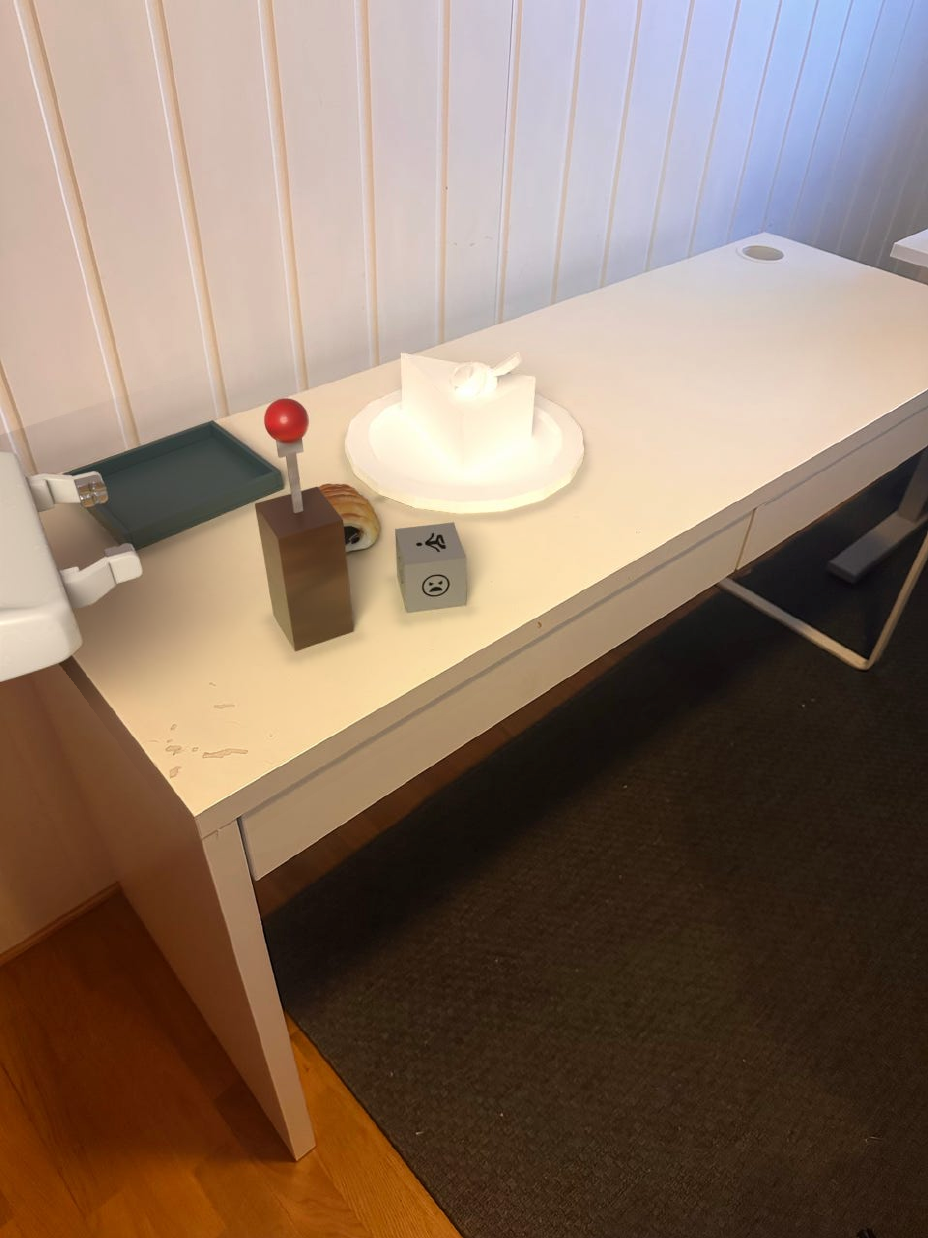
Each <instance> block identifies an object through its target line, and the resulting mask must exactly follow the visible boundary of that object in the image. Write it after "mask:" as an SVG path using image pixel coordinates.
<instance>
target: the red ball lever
mask: <svg viewBox="0 0 928 1238" xmlns="http://www.w3.org/2000/svg"><path fill="white" fill-rule="evenodd" d="M263 423H264V428H265V430H266V432H267V434H268V435H269V436H270V438H272V439H273V440H275V443H276V444H275V445H276V451H277V457H278V458H279V459H281V458H285V460H286V469H287V473H288V474H287V476H288V482H289V490H290V493H287V494H285V495H280V496H277V497H273V498H270V499H266V500H262V501H259V502H256V503H254V509H255V514H256V520H257V526H258V532H259V538H260V544H261V550H262V556H263V563H264V567H265V573H266V579H267V585H268V591H269V599H270V602H271V609H272V614H273V617H274V618H275V620H276V622H277V623H278V625H279V628H280V629H281V630H282V633H283V634H284V635H285V637H286V639H287V641H288V642H289V644H290V645H291V647H292V649H293V650H294V652H298V651H301V650H304V649H308V648H310V647H313V646H315V645H318V644H321V643H325V642H327V641H330V640H333V639H335V638H340V637H342V636H345V635H348V634H350V633H353V632H354V624H353V613H352V601H351V592H350V591H351V589H350V581H349V578H350V577H349V569H348V568H349V567H348V558H347V552H346V546H345V535H344V524H343V519H342V518H341V516H340V515H339V514H338V512H337V511H336V510H335V509H334V507H333V506H332V505H331V503H330V502H329V501H328V500H327V498H326V497H325V496H324V494H323V493H322V492H321V491H320V489H319V488H318V487H319V486H313V487H310V488H307V489H303V490H302V487H301V480H300V473H299V463H298V457H297V455H298V454H301V453H304V451H305V450H304V444H303V437H305V435H306V434H307V432H308V430H309V427H310V418H309V414H308V411H307V410H306V408H305V406H304V405H303V404H301V403H300V402H299V401H298V400H295V399H293V398H288V397H284V398H278V399H276V400H274V401H273V402H271V403H270V404H269V405H268V407H267V408H266V410H265V412H264V416H263Z"/></svg>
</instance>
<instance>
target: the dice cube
mask: <svg viewBox="0 0 928 1238" xmlns="http://www.w3.org/2000/svg"><path fill="white" fill-rule="evenodd" d="M394 534H395V556H396V557H395V558H396V559H395V560H396V577H397V581H398V584H399V589H400V593H401V596H402V600H403V604H404V608H405V612H406V614H409V613H417V612H425V611H433V610H439V609H447V608H455V607H456V608H457V607H462V606H466V604H467V603H466V602H467V598H466V597H467V555H466V552H465V549H464V547H463V544H462V541H461V539H460V535H459V533H458V530H457V527H456V524H455V522H446V523H437V524H427V525H418V526H410V527H409V526H408V527H401V528H400V527H399V528H394Z"/></svg>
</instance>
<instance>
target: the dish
mask: <svg viewBox="0 0 928 1238" xmlns="http://www.w3.org/2000/svg"><path fill="white" fill-rule="evenodd" d="M522 361H523V357H522V356H521V354H520V352H519V351H516V352H514V353H512V354H511V355H509V356H508V357H507V358H505V359H504V360H503V361H501V362H500V363H498V364H496V365H495V366H494V367H491V366H490V365H488V364H486V363H484V362H481V361H467V362H463V363H461V362H457V361H456V362H455V361H450V360H444V359H439V358H433V357H427V356H422V355H418V354H417V355H416V354H411V353H406V352H400V370H401V371H400V374H401V388H400V389H397V390H395V391H392V392H390V393H388V394H386V395H384V396H382V397H380V398H378V399H375V400H373V401H371V402H369V403H367V405H366V406H365V407H363V408H362V410H360V411H359V412H358V413H357V414H356V415H355V416H354V417H353V418H352V419H351V420H350V421H349V423H348V424H349V425H348V428H347V432H346V435H345V439H344V452H345V455H346V458H347V461H348V462H349V463H348V464H349V466H350V468H351V470H352V472H353V474H354V476H356V477H357V479H359V480H360V481H362V482H363V483H364V484H365V485H367V486H368V487H369V488H370V489H371V490H373V491H374V492H376V493H377V494H378V495H379V496H383V497H385V498H388V499H391V500H393V501H396V502H398V503H400V504H401V503H402V504H404V505H406V506H410V507H411V508H414V509H421V510H427V511H436V512H442V513H450V514H457V515H464V514H466V515H467V514H481V513H496V512H506V511H510V510H513V509H517V508H519V507H523V506H527V505H530V504H534V503H538V502H541V501H544V500H545V499H547V498H548V497H551V496H552V495H553V494H554V493H556V492H558V491H559V490H561V489H563V488H564V487H565V486H567V485H568V484H570V483H571V482H572V480H573V479H574V477H575V475H576V474H577V472H578V470H579V468H580V467H581V465H582V464H583V462H584V453H585V445H584V438H583V430H582V427H580V425H579V424H578V422H577V421H576V420H575V419H574V418H573V417H572V415H570V413H569V412H568V411H567V409H565V408H563V407H562V406H560V405H558V404H556V403H554V402H553V401H551V400H550V399H548V398H546V397H544V396H543V395H540V394H537V393H536V379H537V378H536V376H533V375H527V374H521V373H515V372H510V371H512V370H513V369H515V368H516V367H517V366H518V365H520V364H521V363H522Z"/></svg>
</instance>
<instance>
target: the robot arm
mask: <svg viewBox="0 0 928 1238" xmlns="http://www.w3.org/2000/svg"><path fill="white" fill-rule="evenodd" d="M107 500H108V493H107V490H106V487H105V484H104V481H103V479H102V477H101V474H100V473H98V472H96V471H92V472H88V473H84V474H80V475H75V476H72V475H63V473H48V472H41V473H38V474H33V475H28V476H26V474H25V471H24V468H23V466H22V463H21V461H20V458H19V456H18V454H17V453H16V452H13V451H6V450H0V682H5V681H8V680H12V679H16V678H19V677H21V676H25V675H29V674H32V673H35V672H38V671H40V670H44V669H47V668H50V667H52V666H56V665H58V664H59V663H62V662H64V661H66V660H67V659H69V658H70V657H71V656H72V655H73V654H74V653H75V652H77V651H78V649H80V647H81V646H82V645H83V637H82V635H81V632H80V628H79V626H78V622H77V619H76V617H75V614H74V611H75V610H79V609H82V608H85V607H89V606H92V605H94V604H95V603H96V602H98V601H99V600H100V599H101V598H103V597H104V596H105V595H106V594H108V593H109V592H110V591H111V590H112V589H114V588H115V587H116V586H117V585H118V584H122V583H125V582H128V581H133V580H135V579H138V578H140V577H141V576H142V575H143V573H144V570H143V566H142V563H141V559H140V557H139V554H138V552H137V550H135V548H134V546H133V545H132V544H128V543H125V544H122V545H121V544H119V546H115V545H114V546H112V547H111V546H110V547H107V548H104V549H103V552H104V555H105V556H104V557H102V558H100V559H99V560H96V561H95V562H93V563H92V564H90V565H88V566H87V567H85V568H83V569H82V570H80V568H79V566H78V565H75V566H71V567H67V568H64V569H60V570H59V568H58V565H57V563H56V560H55V557H54V554H53V550H52V548H51V546H50V543H49V539H48V537H47V534H46V532H45V528H44V525H43V522H42V519H41V517H40V514H39V513H43V512H46V511H49V510H53V509H55V507H56V506H55V505H56V504H78V503H79V504H80V503H81V502H82V504H83V506H84V507H83V506H82V507H83V508H84V509H85V507H89V506H93V505H95V504H97V503H98V504H101V503H105V502H106V501H107Z"/></svg>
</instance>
